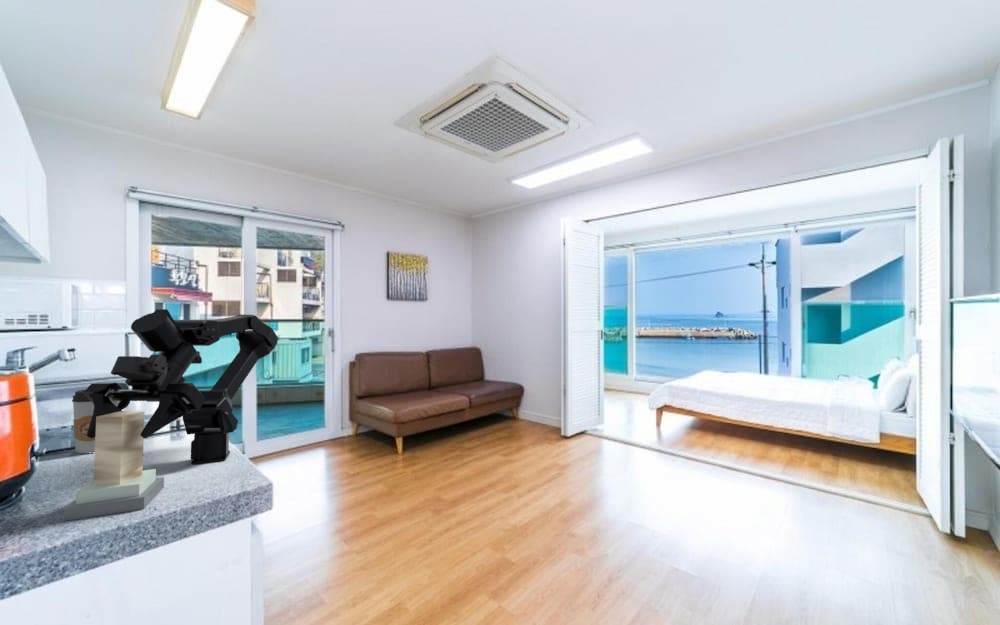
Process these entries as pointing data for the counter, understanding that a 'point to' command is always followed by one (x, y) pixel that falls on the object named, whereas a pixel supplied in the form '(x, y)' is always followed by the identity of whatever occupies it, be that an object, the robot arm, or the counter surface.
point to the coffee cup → (82, 422)
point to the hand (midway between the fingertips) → (116, 437)
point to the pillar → (118, 447)
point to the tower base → (113, 504)
